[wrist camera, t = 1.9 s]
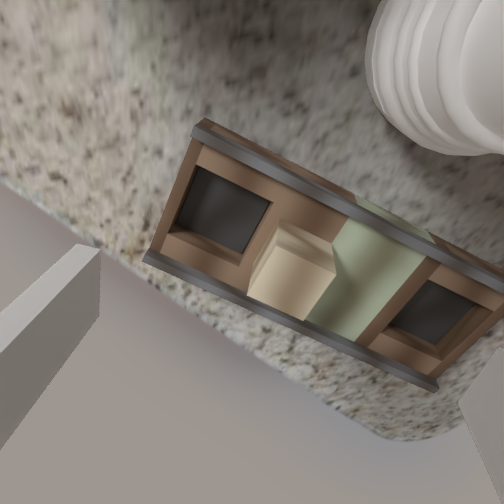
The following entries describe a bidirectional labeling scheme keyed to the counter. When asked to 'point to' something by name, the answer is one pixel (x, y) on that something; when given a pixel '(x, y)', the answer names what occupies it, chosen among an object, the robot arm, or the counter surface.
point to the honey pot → (440, 72)
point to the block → (292, 270)
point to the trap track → (344, 251)
